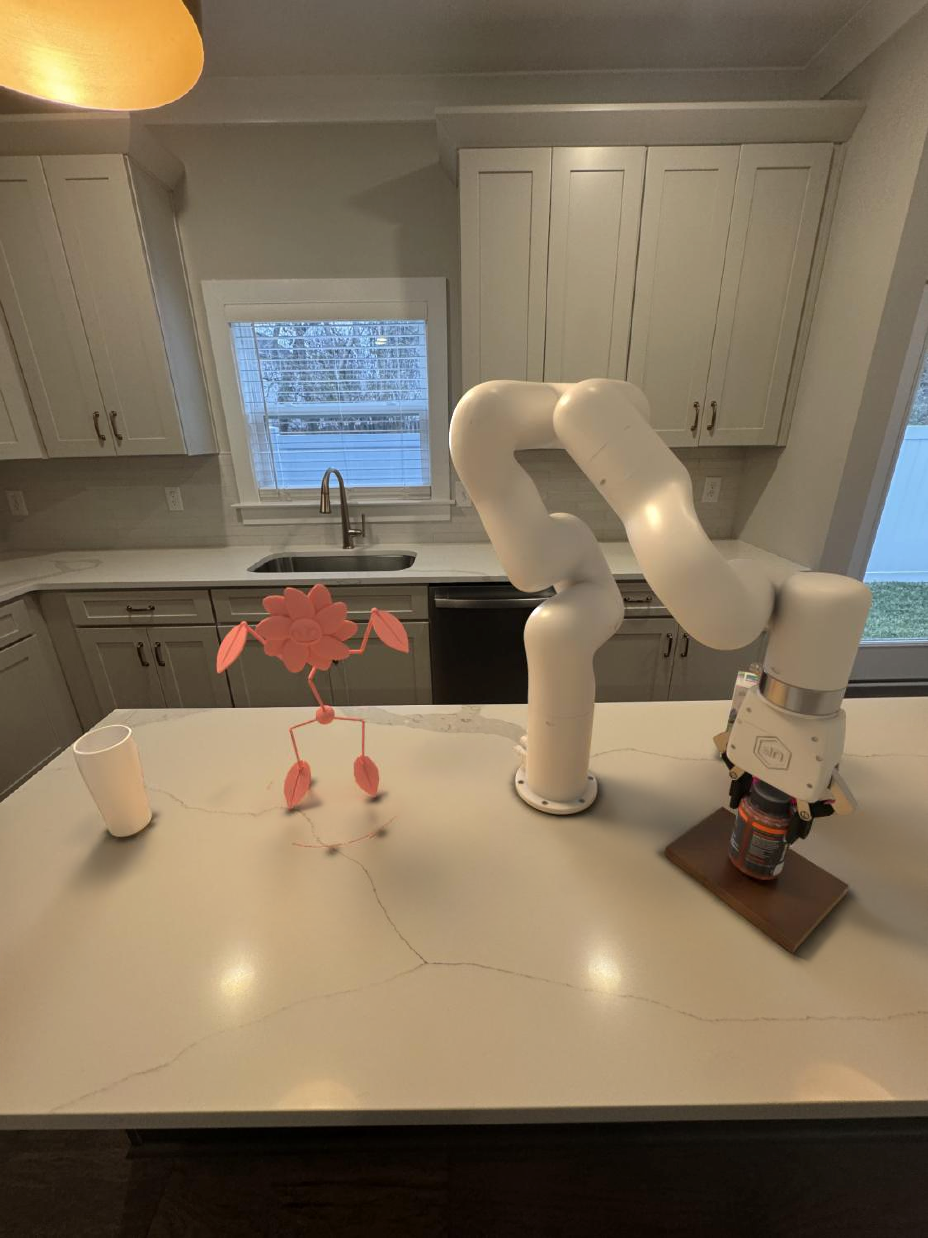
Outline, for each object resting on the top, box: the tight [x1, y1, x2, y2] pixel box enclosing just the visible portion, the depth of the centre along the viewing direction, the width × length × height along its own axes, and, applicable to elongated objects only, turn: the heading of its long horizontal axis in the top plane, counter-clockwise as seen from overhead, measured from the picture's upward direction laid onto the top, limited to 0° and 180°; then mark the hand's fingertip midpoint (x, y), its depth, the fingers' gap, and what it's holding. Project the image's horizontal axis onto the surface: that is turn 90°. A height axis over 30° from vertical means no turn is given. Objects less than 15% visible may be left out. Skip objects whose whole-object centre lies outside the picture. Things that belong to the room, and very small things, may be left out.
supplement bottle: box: [729, 780, 796, 880], centre depth 61 cm, size 6×6×11 cm
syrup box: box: [719, 670, 758, 759], centre depth 83 cm, size 6×6×14 cm
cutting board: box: [664, 806, 850, 954], centre depth 64 cm, size 16×13×2 cm
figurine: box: [216, 583, 409, 851], centre depth 69 cm, size 15×26×35 cm, turn 97°
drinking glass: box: [72, 724, 153, 838], centre depth 71 cm, size 7×7×15 cm
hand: (765, 819), depth 61 cm, fingers closed on supplement bottle, 5 cm apart
